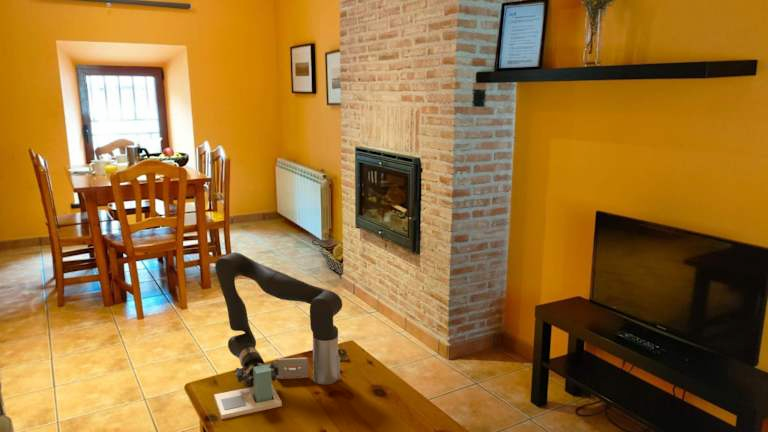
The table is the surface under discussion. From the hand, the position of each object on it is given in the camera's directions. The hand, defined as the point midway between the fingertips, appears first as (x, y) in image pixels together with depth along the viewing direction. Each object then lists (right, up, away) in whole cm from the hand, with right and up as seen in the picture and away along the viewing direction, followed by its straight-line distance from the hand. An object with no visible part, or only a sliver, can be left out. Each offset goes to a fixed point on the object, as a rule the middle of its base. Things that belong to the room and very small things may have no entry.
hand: (261, 381), depth 198 cm
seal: (+20, -1, +35) cm, 41 cm away
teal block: (0, -7, +1) cm, 7 cm away
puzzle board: (-5, -7, 0) cm, 9 cm away
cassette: (+8, -4, +17) cm, 20 cm away
